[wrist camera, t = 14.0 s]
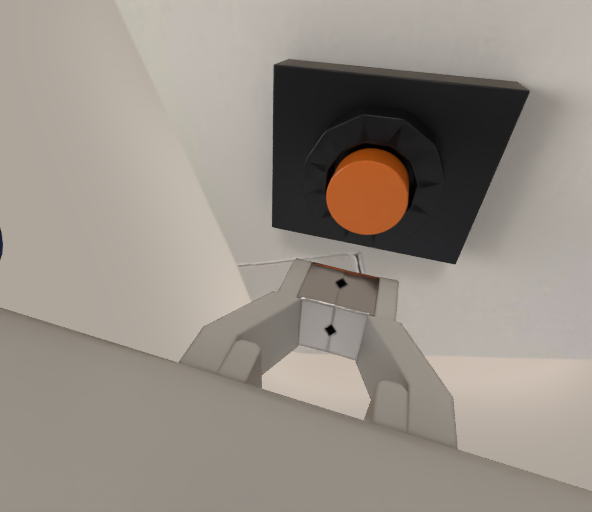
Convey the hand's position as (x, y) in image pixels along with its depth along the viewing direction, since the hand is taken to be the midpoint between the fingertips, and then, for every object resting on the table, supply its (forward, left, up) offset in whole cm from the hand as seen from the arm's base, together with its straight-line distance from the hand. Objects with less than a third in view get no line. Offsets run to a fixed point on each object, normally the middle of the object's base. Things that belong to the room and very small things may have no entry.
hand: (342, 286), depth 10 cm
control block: (0, 0, -12) cm, 12 cm away
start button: (0, 0, -8) cm, 8 cm away
